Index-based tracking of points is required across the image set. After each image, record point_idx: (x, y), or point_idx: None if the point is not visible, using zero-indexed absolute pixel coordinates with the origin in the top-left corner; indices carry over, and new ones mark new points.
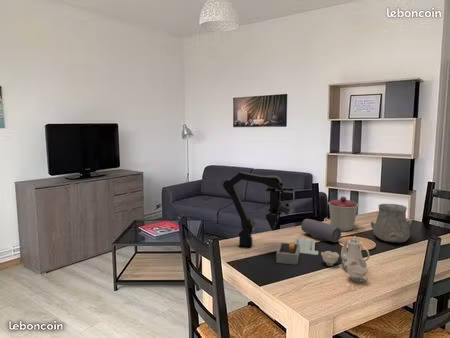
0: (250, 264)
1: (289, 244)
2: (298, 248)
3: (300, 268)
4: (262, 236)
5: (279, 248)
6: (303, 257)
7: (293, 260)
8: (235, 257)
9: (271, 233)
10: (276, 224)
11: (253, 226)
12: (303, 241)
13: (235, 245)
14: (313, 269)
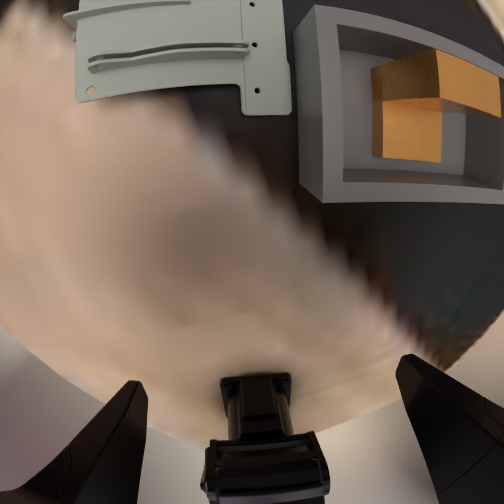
0: (473, 297)
1: (484, 111)
2: (424, 31)
3: None
4: (70, 351)
5: (456, 192)
6: None
7: None
8: None
9: (7, 312)
10: (136, 388)
11: (271, 484)
12: (110, 19)
13: None
14: (476, 9)
